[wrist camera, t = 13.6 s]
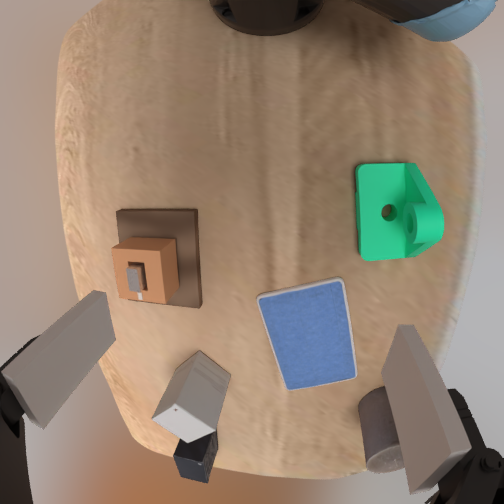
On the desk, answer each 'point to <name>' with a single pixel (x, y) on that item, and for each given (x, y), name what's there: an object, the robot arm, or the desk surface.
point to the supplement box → (193, 398)
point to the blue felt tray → (310, 333)
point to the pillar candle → (379, 433)
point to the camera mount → (395, 211)
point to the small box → (196, 457)
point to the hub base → (187, 248)
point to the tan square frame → (147, 268)
